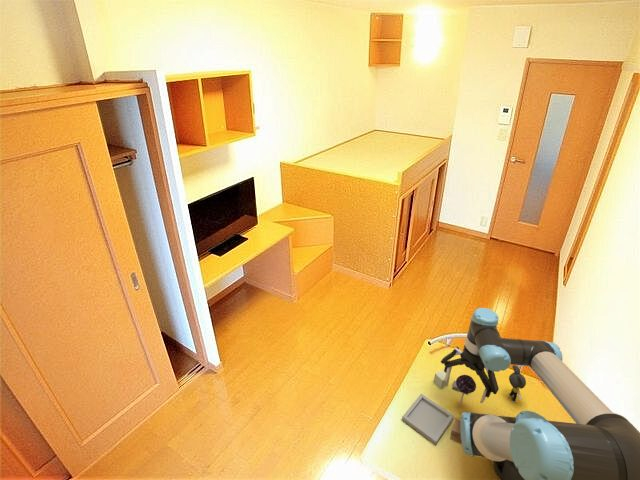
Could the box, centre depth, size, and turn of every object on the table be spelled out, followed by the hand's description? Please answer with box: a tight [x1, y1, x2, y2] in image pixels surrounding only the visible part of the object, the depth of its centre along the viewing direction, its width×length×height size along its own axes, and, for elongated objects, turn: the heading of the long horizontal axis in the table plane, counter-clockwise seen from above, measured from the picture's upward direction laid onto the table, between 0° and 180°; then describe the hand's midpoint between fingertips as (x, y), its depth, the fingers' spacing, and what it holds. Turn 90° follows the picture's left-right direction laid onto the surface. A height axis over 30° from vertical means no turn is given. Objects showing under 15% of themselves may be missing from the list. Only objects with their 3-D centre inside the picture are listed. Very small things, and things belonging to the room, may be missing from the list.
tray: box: [401, 393, 455, 446], centre depth 128 cm, size 13×13×2 cm
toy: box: [508, 365, 527, 403], centre depth 132 cm, size 8×5×15 cm, turn 179°
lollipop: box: [455, 374, 477, 407], centre depth 130 cm, size 7×7×15 cm
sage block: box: [433, 369, 451, 390], centre depth 141 cm, size 4×4×5 cm
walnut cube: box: [449, 418, 462, 445], centre depth 122 cm, size 5×5×5 cm
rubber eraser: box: [451, 380, 469, 396], centre depth 139 cm, size 6×3×2 cm, turn 62°
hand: (464, 389), depth 129 cm, fingers open, 13 cm apart
